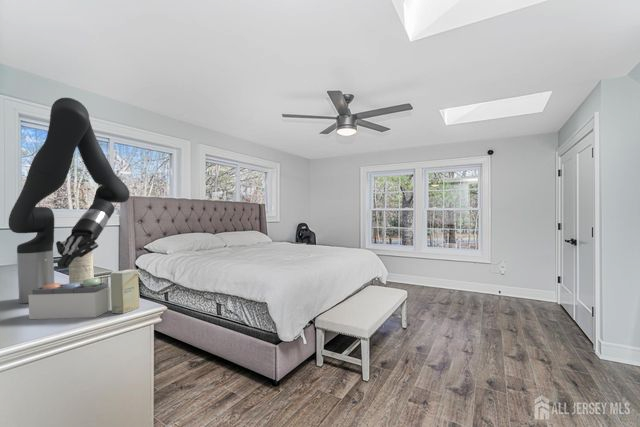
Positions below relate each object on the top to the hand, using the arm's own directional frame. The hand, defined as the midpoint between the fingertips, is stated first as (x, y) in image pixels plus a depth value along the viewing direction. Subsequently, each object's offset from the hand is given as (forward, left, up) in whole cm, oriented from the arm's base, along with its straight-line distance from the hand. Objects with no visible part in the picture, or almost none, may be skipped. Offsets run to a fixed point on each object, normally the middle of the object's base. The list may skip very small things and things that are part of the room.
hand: (61, 266), depth 90 cm
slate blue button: (+5, 0, -7) cm, 9 cm away
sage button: (+11, +2, -6) cm, 12 cm away
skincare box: (+18, +8, -14) cm, 24 cm away
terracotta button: (0, -3, -7) cm, 7 cm away
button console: (+5, 0, -14) cm, 15 cm away
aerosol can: (-12, +11, -14) cm, 21 cm away
